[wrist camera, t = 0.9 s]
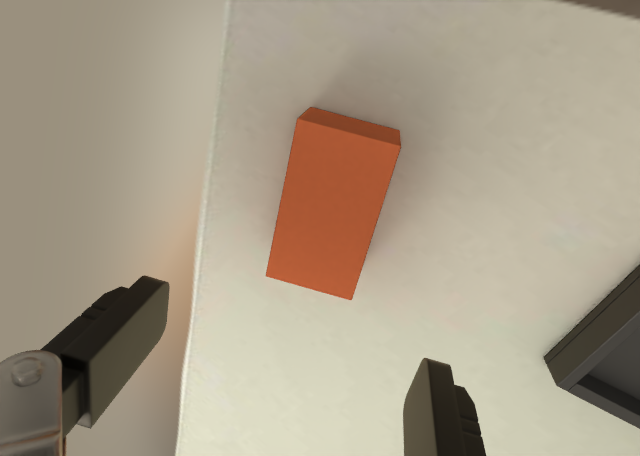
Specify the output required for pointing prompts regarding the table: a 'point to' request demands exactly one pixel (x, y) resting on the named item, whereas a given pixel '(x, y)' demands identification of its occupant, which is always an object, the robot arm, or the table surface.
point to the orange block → (331, 201)
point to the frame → (605, 354)
